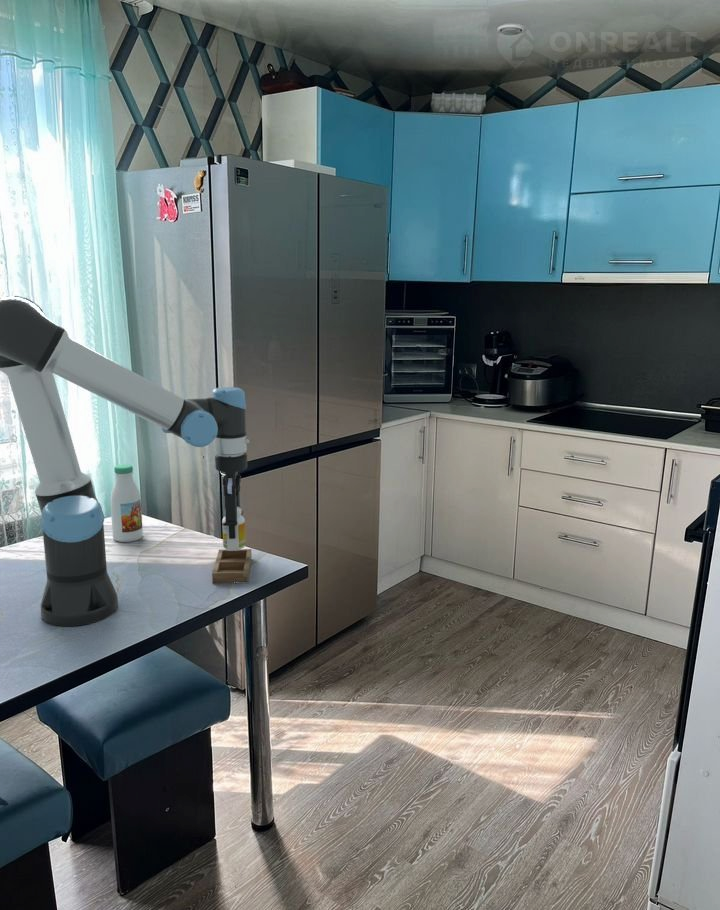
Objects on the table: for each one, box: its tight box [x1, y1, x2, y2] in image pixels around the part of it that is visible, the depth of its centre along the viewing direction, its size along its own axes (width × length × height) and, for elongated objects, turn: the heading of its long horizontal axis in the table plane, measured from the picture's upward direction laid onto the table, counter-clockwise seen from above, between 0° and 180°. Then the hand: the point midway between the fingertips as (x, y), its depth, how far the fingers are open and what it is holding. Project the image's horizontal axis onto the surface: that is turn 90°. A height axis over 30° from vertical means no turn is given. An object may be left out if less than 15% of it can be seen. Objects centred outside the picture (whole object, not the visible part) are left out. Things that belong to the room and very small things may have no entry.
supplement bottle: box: [221, 506, 246, 550], centre depth 175 cm, size 5×5×10 cm
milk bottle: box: [110, 463, 144, 543], centre depth 192 cm, size 8×8×20 cm
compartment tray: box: [211, 548, 253, 585], centre depth 173 cm, size 15×8×2 cm, turn 5°
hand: (234, 545), depth 176 cm, fingers closed on supplement bottle, 5 cm apart
